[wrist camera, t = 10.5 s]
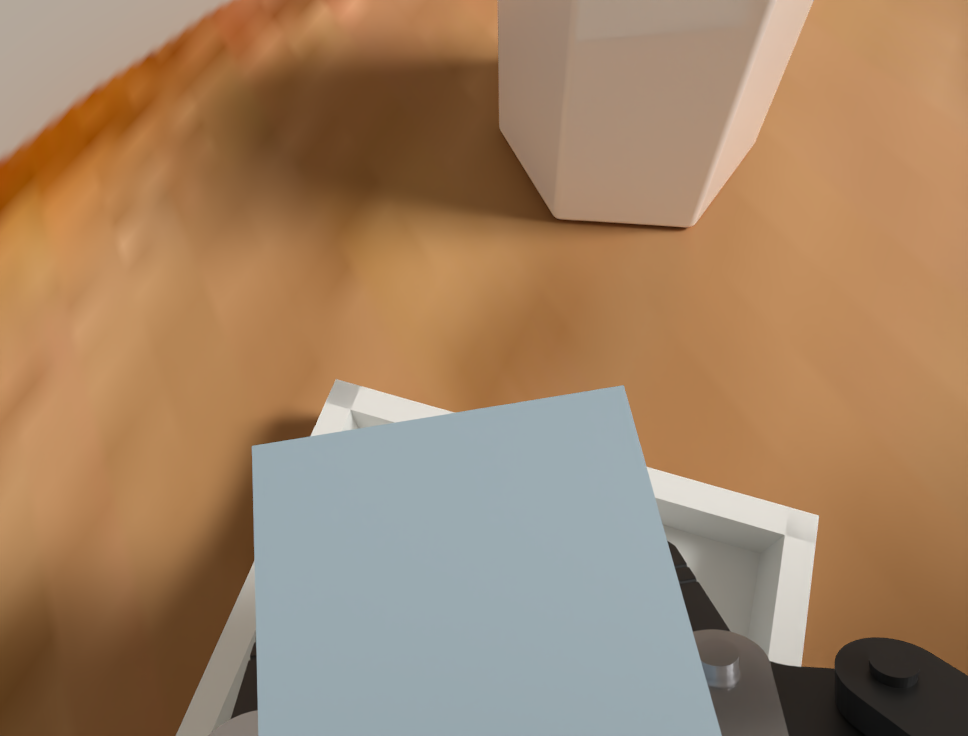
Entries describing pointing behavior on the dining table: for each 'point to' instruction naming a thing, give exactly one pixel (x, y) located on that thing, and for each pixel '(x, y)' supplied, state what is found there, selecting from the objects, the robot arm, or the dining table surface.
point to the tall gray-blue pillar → (472, 580)
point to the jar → (638, 99)
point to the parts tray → (687, 524)
